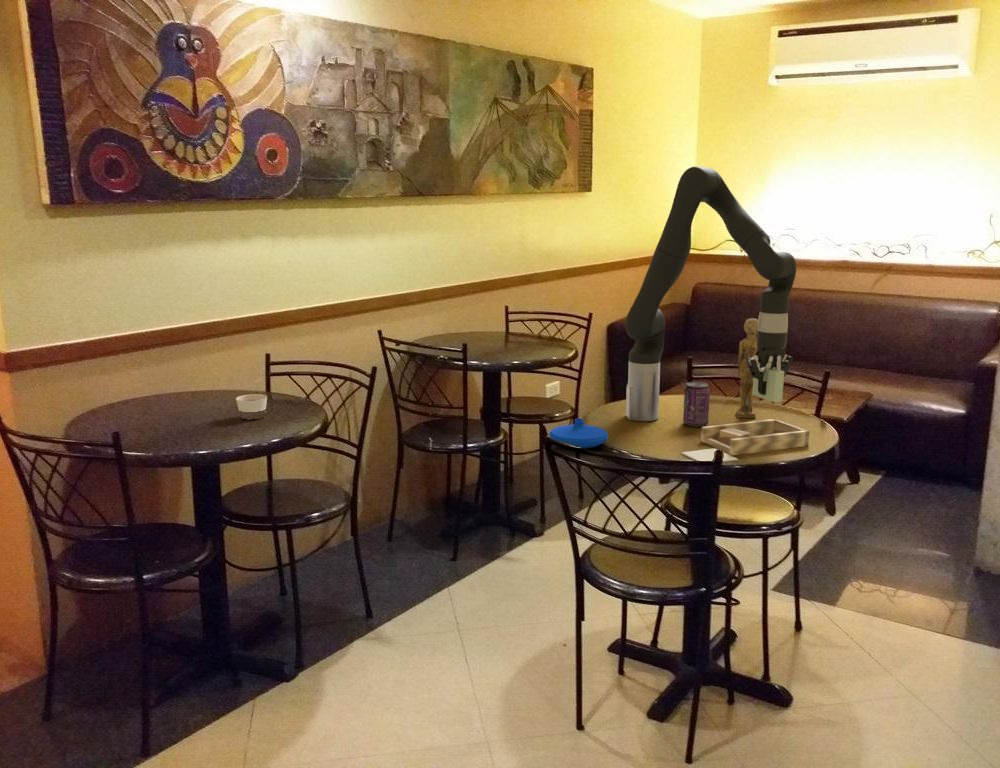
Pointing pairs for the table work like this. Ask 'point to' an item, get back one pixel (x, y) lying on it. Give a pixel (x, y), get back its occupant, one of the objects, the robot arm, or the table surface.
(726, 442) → the offcut lower
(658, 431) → the table surface
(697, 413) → the beverage can
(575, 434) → the blue rounded knobbed disc
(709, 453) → the mat
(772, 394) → the block
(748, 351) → the sculpture
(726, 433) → the offcut upper
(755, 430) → the tray
